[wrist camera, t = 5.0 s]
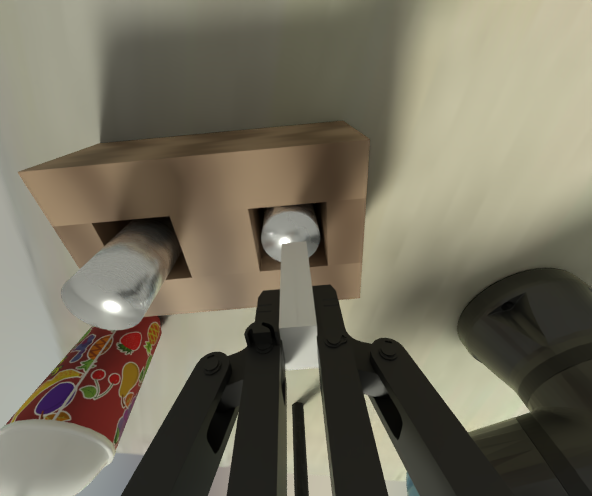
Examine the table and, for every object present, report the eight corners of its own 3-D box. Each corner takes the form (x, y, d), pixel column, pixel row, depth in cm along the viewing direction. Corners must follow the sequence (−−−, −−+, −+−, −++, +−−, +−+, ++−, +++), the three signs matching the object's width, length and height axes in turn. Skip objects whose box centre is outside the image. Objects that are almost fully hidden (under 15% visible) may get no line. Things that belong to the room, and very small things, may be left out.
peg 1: (178, 206, 20) (125, 270, 13) (193, 252, 22) (155, 326, 15) (124, 211, 20) (44, 278, 13) (144, 256, 22) (85, 333, 15)
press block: (342, 120, 22) (369, 139, 15) (341, 245, 28) (359, 298, 21) (99, 143, 22) (17, 172, 15) (153, 262, 28) (112, 319, 22)
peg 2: (309, 173, 24) (319, 209, 17) (311, 214, 26) (320, 260, 19) (264, 177, 24) (256, 215, 17) (270, 218, 26) (265, 265, 19)
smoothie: (91, 289, 30) (-156, 562, 13) (169, 296, 31) (33, 558, 14) (107, 338, 34) (-64, 590, 17) (174, 343, 35) (75, 586, 18)
